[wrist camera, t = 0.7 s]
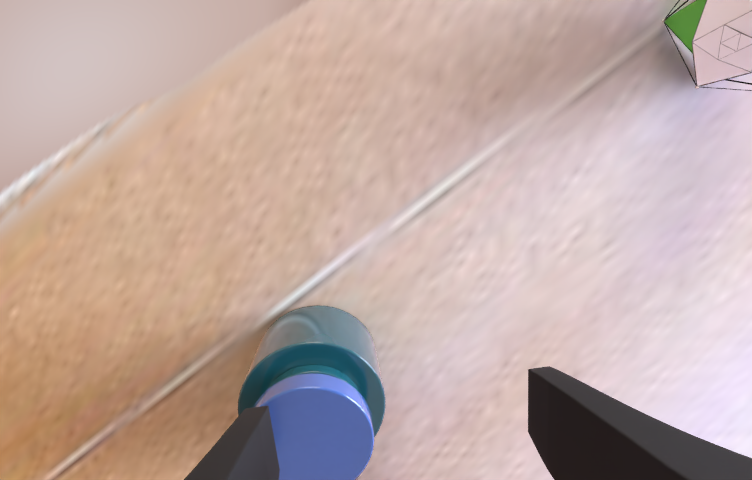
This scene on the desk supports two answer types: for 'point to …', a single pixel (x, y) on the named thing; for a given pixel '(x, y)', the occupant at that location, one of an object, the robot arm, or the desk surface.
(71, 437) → the desk surface
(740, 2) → the geometric puzzle
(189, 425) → the desk surface
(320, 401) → the ink bottle
